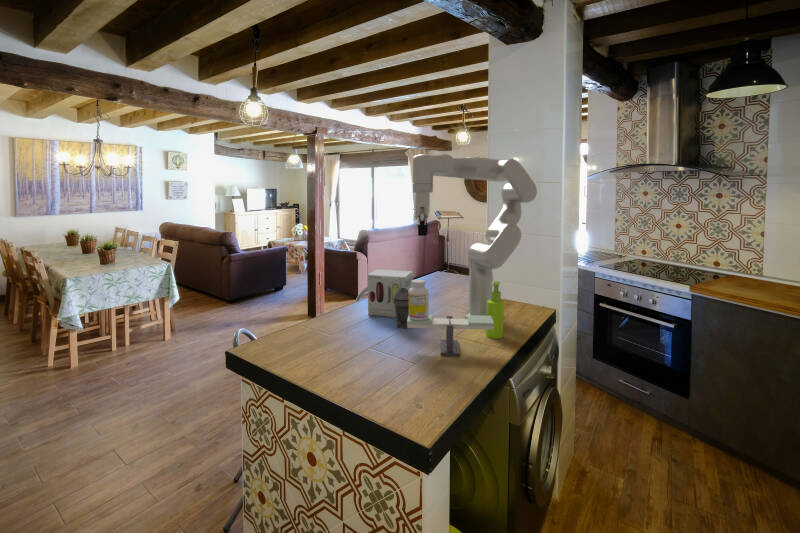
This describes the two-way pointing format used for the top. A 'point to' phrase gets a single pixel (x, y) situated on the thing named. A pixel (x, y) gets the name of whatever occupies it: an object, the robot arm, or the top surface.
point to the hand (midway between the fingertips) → (422, 234)
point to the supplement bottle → (418, 300)
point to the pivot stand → (449, 342)
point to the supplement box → (386, 290)
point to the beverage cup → (401, 306)
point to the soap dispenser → (495, 313)
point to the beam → (454, 322)
